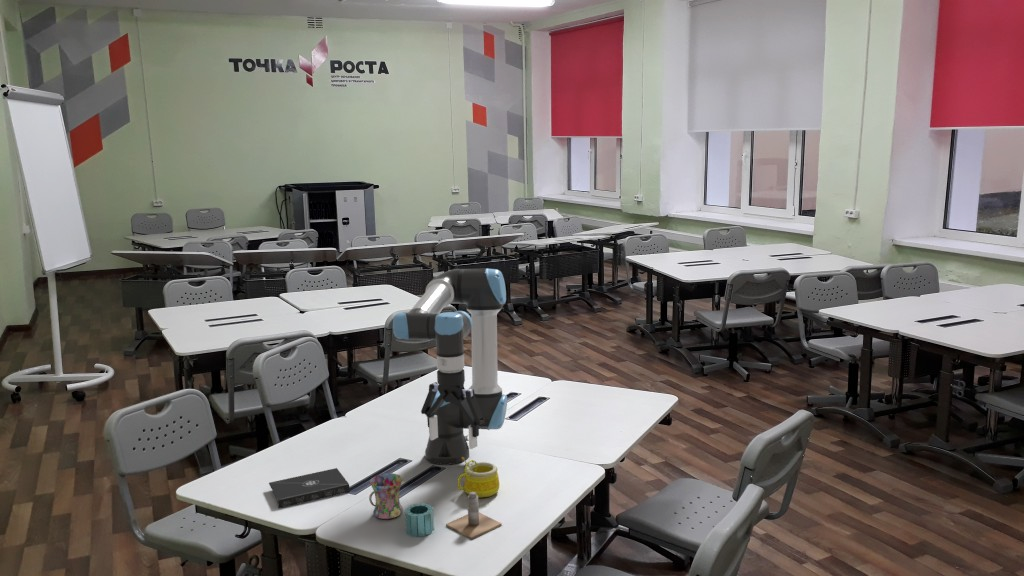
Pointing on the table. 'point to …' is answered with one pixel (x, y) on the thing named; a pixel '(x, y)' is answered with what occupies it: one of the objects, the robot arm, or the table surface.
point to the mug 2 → (480, 479)
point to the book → (309, 487)
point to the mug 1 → (386, 495)
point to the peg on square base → (473, 520)
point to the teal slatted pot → (419, 520)
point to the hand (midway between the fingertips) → (453, 443)
